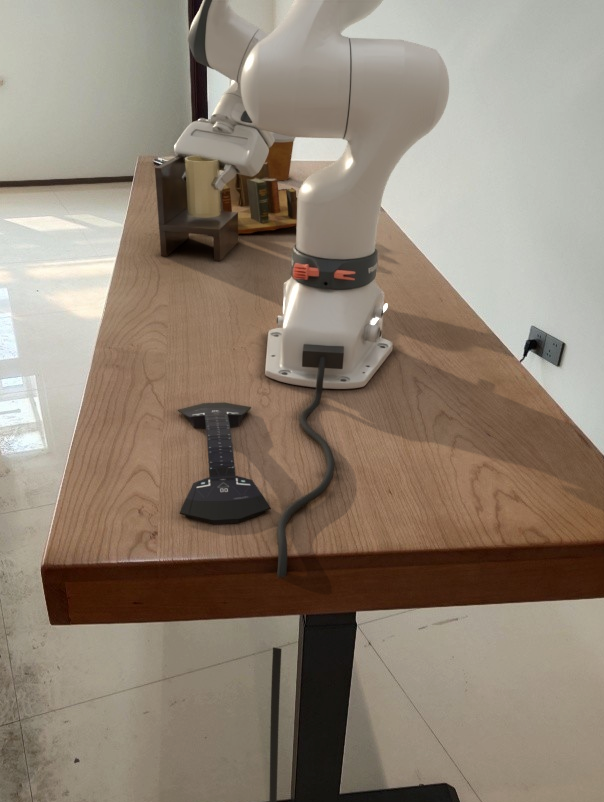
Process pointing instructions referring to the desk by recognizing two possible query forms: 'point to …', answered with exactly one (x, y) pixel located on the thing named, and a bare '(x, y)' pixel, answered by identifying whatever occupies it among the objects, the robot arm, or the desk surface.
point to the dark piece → (221, 470)
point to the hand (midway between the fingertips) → (201, 185)
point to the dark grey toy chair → (176, 217)
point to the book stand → (259, 202)
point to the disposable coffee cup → (280, 157)
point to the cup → (202, 187)
